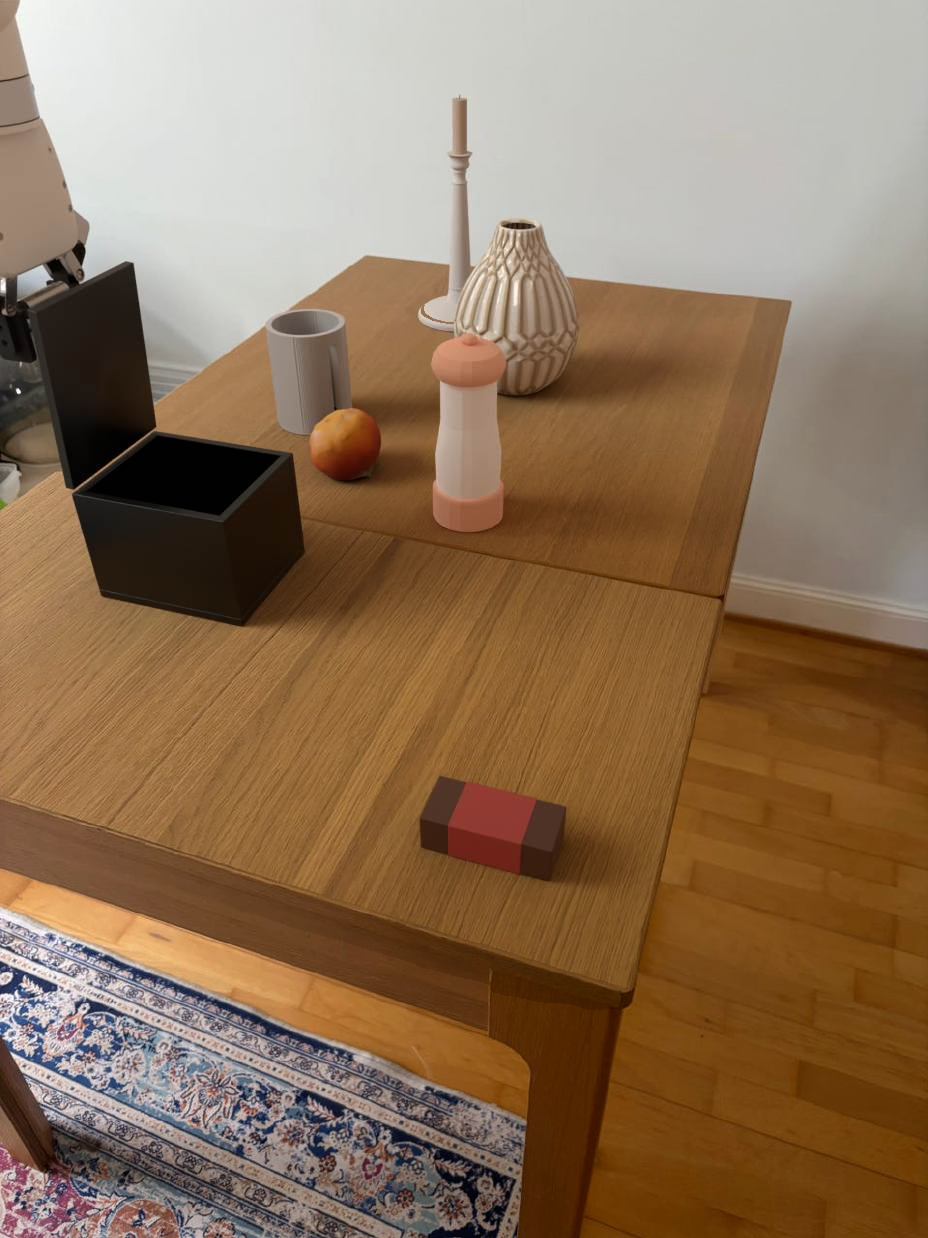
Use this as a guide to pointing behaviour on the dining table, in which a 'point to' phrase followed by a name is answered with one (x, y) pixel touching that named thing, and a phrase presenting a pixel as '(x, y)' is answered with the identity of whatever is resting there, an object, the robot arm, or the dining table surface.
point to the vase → (521, 307)
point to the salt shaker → (468, 435)
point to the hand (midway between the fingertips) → (48, 341)
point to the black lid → (92, 368)
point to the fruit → (345, 444)
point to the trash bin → (193, 525)
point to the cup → (308, 367)
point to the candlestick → (455, 226)
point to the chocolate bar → (493, 827)
